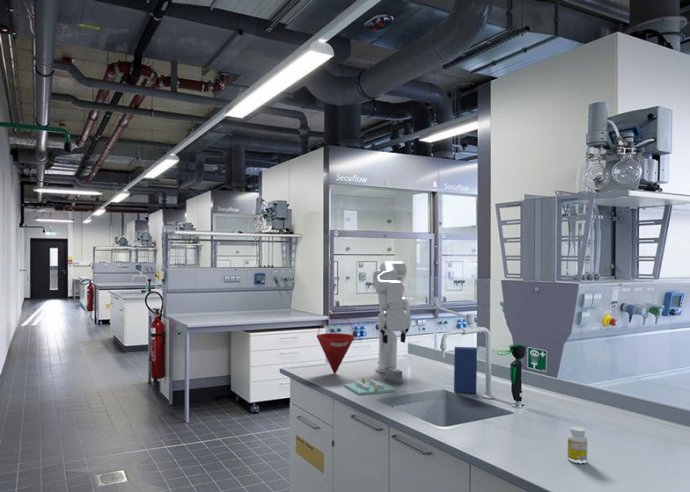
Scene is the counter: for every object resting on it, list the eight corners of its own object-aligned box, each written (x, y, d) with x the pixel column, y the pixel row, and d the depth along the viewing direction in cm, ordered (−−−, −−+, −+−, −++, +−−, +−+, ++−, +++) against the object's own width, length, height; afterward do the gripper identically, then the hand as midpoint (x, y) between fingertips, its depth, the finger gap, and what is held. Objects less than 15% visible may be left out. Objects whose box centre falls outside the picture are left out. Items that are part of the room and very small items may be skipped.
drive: (384, 379, 249) (384, 367, 249) (391, 379, 251) (391, 366, 251) (394, 384, 240) (395, 371, 240) (402, 384, 242) (402, 371, 242)
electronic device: (474, 391, 231) (475, 347, 231) (476, 394, 225) (477, 349, 226) (453, 390, 231) (454, 346, 232) (454, 393, 226) (455, 348, 227)
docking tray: (344, 386, 235) (344, 378, 235) (378, 383, 242) (378, 375, 242) (359, 395, 220) (359, 386, 220) (395, 391, 228) (395, 383, 228)
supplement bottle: (584, 466, 148) (584, 433, 149) (565, 461, 152) (565, 428, 152) (589, 460, 152) (589, 428, 153) (570, 456, 156) (570, 424, 156)
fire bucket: (323, 379, 246) (325, 317, 247) (307, 371, 264) (309, 313, 264) (362, 375, 256) (363, 316, 257) (344, 367, 274) (345, 312, 274)
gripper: (382, 308, 239) (381, 344, 239) (414, 307, 246) (413, 343, 246) (375, 306, 246) (374, 342, 245) (406, 306, 253) (405, 340, 252)
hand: (394, 342), depth 246 cm, fingers open, 9 cm apart
